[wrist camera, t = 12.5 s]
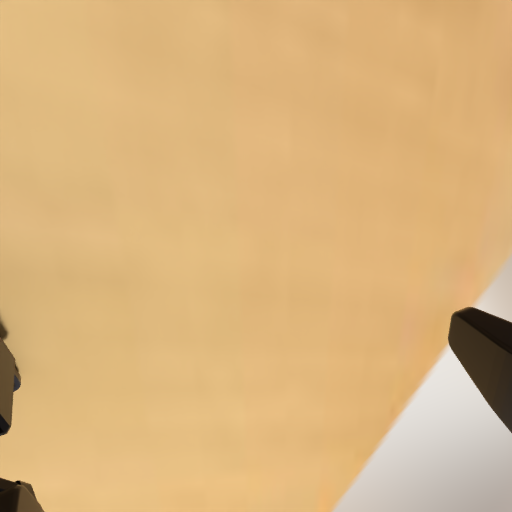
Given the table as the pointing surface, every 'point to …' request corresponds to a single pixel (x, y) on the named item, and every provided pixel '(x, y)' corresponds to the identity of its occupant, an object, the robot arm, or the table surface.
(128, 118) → the table surface
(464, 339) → the robot arm
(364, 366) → the table surface
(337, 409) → the table surface
